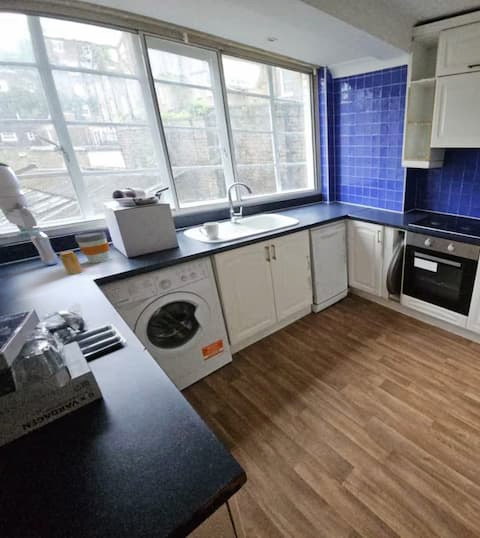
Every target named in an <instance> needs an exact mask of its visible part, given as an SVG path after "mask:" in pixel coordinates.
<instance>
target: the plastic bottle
mask: <svg viewBox="0 0 480 538" xmlns="http://www.w3.org/2000/svg"><path fill="white" fill-rule="evenodd" d="M33 230H37V231H38V232H39V235H36V236H32V237H30V241H31V242H32V243H33V245H34V246H35V248H36V250H37V251H38V254H39V257H40V261H41V263H42V264H43V265H44V266H51V265H53V266H54V265H56V264H59V262H60V257H59V256H58V255H57V254H56V252H55V251H54V249H53V247H52V244H51V241H50V238H49V236H48V234H46V233H45V232H42V229H41V227H40V226H35V227H33Z"/></svg>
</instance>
